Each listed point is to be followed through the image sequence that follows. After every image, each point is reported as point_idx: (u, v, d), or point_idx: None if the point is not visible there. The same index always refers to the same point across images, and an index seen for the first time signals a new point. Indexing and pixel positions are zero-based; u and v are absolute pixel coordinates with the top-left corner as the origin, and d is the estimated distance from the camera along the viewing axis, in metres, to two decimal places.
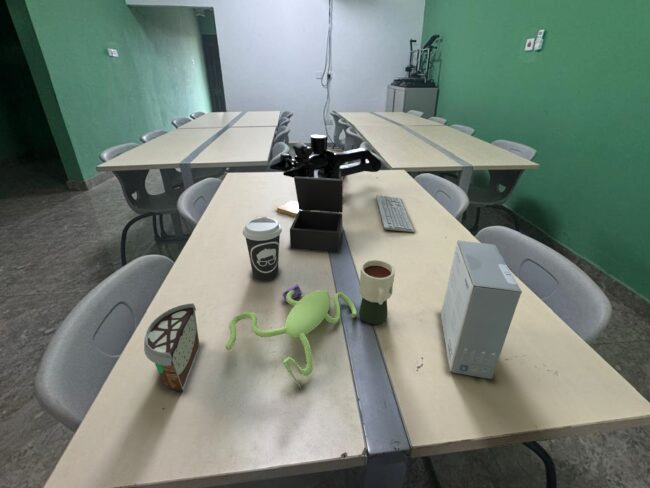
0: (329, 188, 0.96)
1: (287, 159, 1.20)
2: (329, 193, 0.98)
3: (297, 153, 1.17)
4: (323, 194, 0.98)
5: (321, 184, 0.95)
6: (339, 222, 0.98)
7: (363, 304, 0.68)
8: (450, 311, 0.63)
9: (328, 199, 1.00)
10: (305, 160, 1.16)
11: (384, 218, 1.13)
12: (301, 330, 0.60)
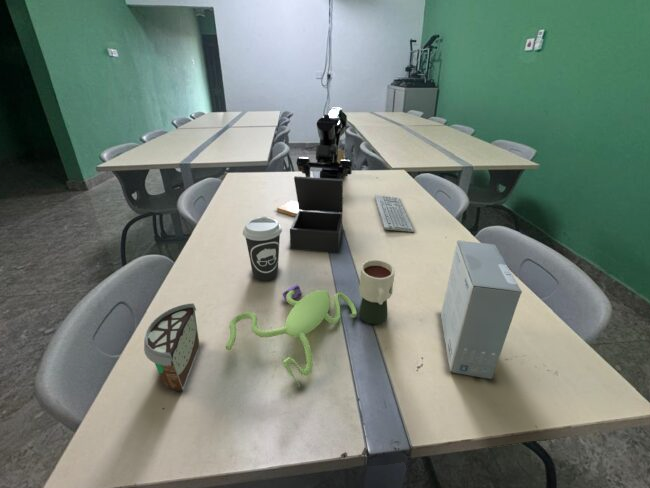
0: (329, 188, 0.96)
1: (308, 163, 1.08)
2: (329, 193, 0.98)
3: (320, 155, 1.05)
4: (323, 194, 0.98)
5: (321, 184, 0.95)
6: (339, 222, 0.98)
7: (363, 304, 0.68)
8: (450, 311, 0.63)
9: (328, 199, 1.00)
10: (333, 157, 1.07)
11: (384, 218, 1.13)
12: (301, 330, 0.60)
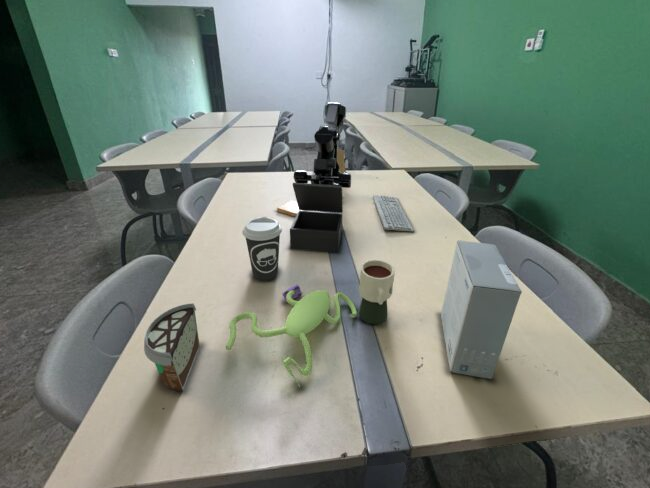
0: (329, 193, 0.95)
1: (318, 178, 1.03)
2: (329, 197, 0.97)
3: (318, 169, 1.01)
4: (323, 198, 0.98)
5: (320, 190, 0.94)
6: (339, 222, 0.98)
7: (363, 304, 0.68)
8: (450, 311, 0.63)
9: (328, 202, 0.99)
10: (331, 170, 1.03)
11: (383, 218, 1.13)
12: (301, 330, 0.60)
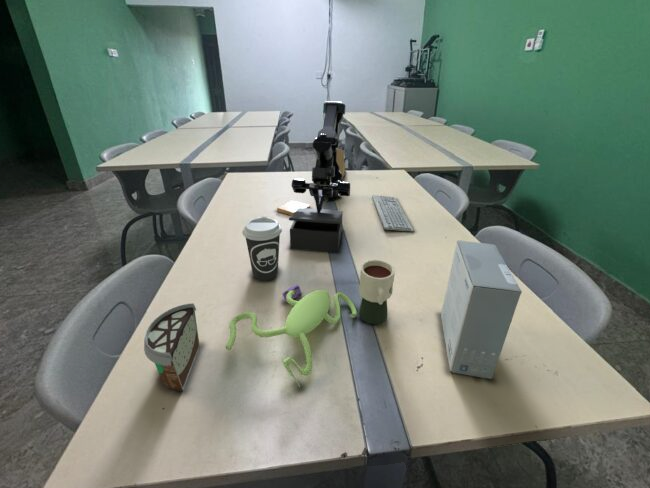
0: None
1: (317, 186, 1.01)
2: None
3: (317, 177, 0.99)
4: None
5: None
6: (339, 222, 0.98)
7: (363, 304, 0.68)
8: (450, 311, 0.63)
9: None
10: (330, 178, 1.01)
11: (383, 218, 1.13)
12: (301, 330, 0.60)
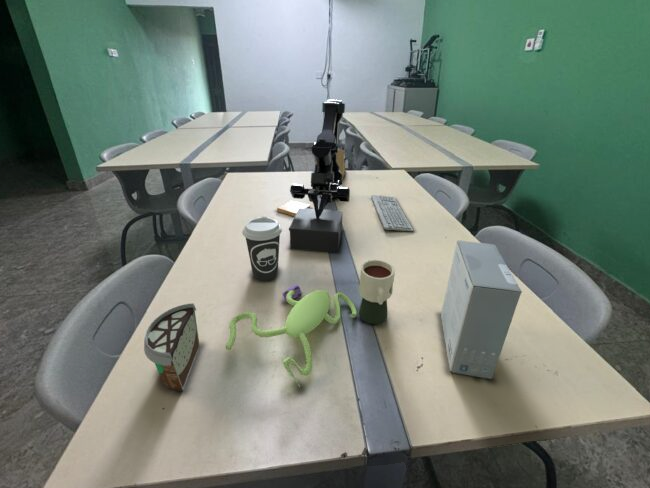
0: None
1: (316, 192, 1.00)
2: None
3: (316, 183, 0.97)
4: None
5: None
6: None
7: (363, 304, 0.68)
8: (450, 311, 0.63)
9: None
10: (329, 184, 0.99)
11: (383, 218, 1.13)
12: (301, 330, 0.60)
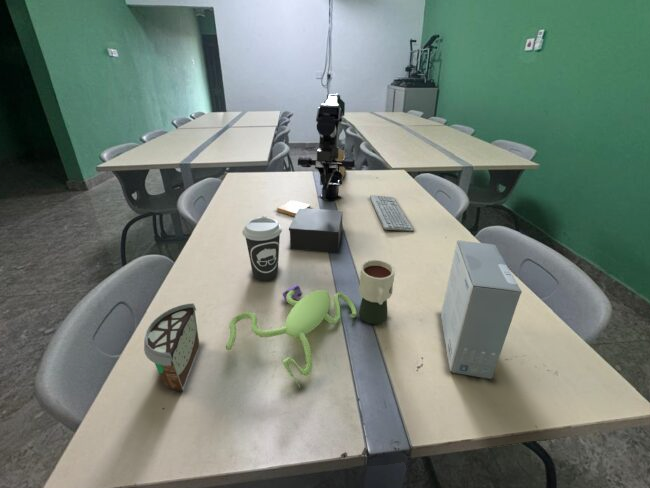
0: None
1: (322, 164, 1.04)
2: None
3: None
4: None
5: None
6: None
7: (363, 304, 0.68)
8: (450, 311, 0.63)
9: None
10: None
11: (382, 218, 1.13)
12: (301, 330, 0.60)
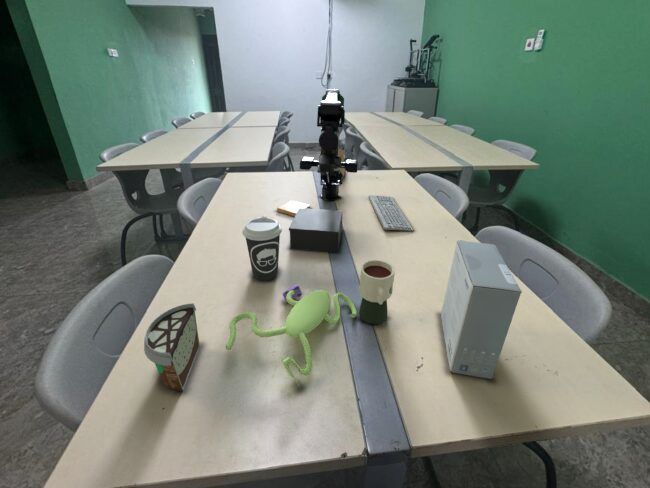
0: None
1: None
2: None
3: None
4: None
5: None
6: None
7: (363, 304, 0.68)
8: (450, 311, 0.63)
9: None
10: None
11: (382, 218, 1.13)
12: (300, 330, 0.60)
